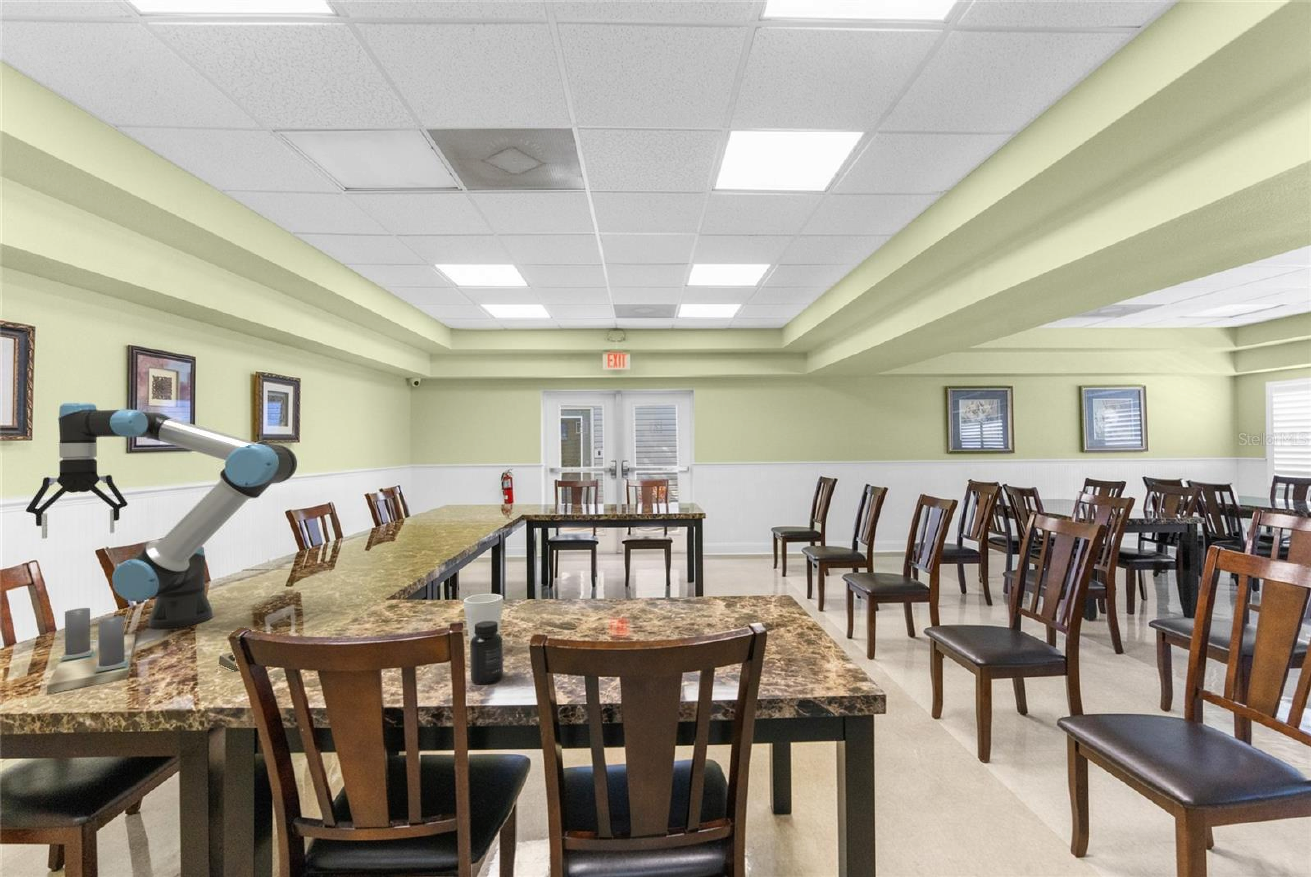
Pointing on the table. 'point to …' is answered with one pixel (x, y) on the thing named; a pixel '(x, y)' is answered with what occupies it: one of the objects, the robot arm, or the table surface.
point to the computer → (228, 661)
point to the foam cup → (482, 610)
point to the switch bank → (89, 669)
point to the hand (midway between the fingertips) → (79, 535)
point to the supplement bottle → (486, 654)
